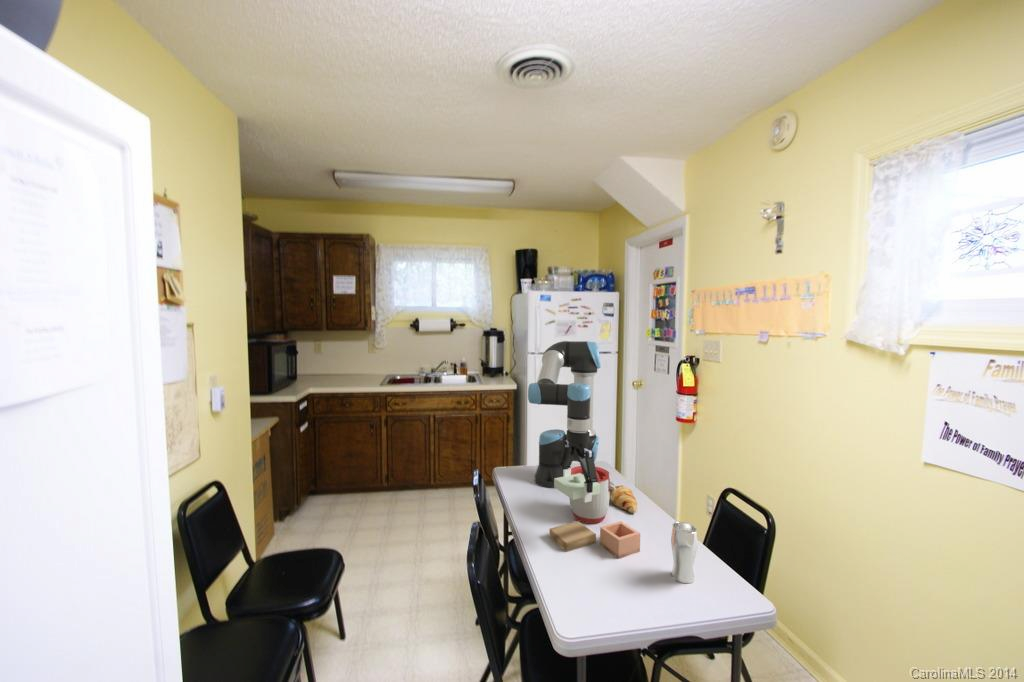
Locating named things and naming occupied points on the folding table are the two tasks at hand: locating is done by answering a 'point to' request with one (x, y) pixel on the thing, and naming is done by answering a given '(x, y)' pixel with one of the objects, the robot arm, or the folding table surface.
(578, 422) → the robot arm
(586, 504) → the citrus juicer
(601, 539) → the open box
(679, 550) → the beer glass
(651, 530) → the folding table surface
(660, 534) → the folding table surface
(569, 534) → the wooden block
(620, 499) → the croissant
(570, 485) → the lid
